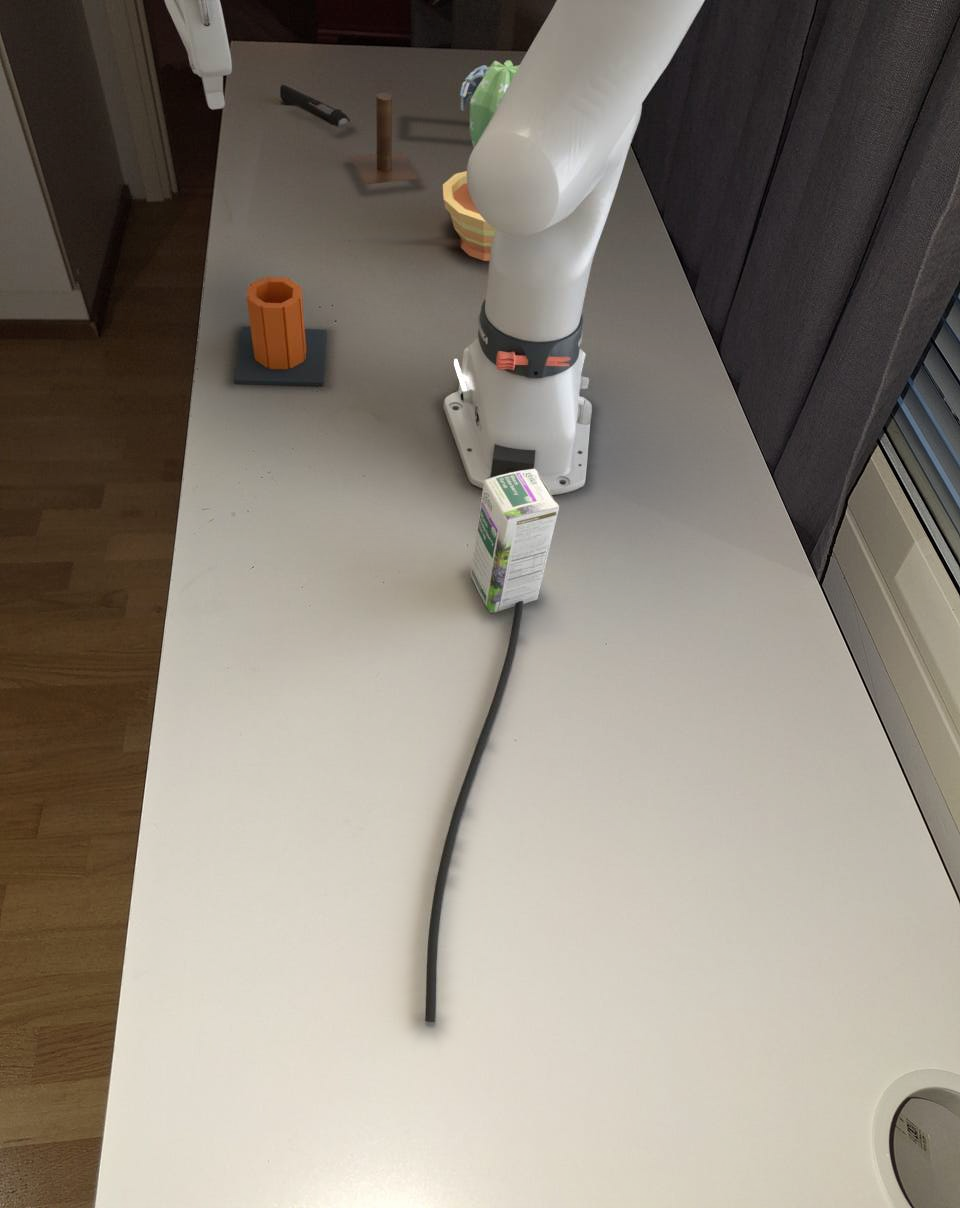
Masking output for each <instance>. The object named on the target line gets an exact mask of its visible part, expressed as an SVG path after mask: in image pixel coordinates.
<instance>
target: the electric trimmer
mask: <svg viewBox="0 0 960 1208" xmlns="http://www.w3.org/2000/svg"><path fill="white" fill-rule="evenodd" d="M279 87H280V89H279V95H280V99H281V100H282V101H283V102H284V103H286V104H287V105H288V106H291V107H292V106H293V107H299V108H300V109H302V110H304V111H307V112H308V113H311V114H313V115H315V116H317V117H319V118H321V119H323V120H325V121H326V122H328V123H329V124H330V125H332V126H335V127H339V126H341V125H344V124H346V123H350V122H351V120H350V118H349V117H348V115H346V114H345V113H344V112H343V111H342V110H341V109H339V108H334V107H332V106H330V105H328V104H326V103H324V102H322V101H320V100H317V99H315V98H313V97H311V96H309V95H306V94H304V93H302V92H301V91H298V90H297V89H294V88H292V87H290V86H288V85H286V84H281V85H280V86H279Z"/></svg>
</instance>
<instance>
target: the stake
mask: <svg viewBox="0 0 960 1208" xmlns="http://www.w3.org/2000/svg"><path fill="white" fill-rule="evenodd" d="M375 97H376V104H375V105H376V106H375V107H376V154H366V155H365V154H364V155H355V156H349V158H350V160H351V162H352V164H353V165H354V168H355V169H356V171H357V172H358V175H359V176H360V178H361V179H362V182H363V184H364V185H374V184H383V183H394V182H403V181H404V182H405V181H414V180H415V181H416V180H419V179H420V178H419V176H418V175H417V173H416V171H415V170H414V168H413V167H412V165H411V164H410V162H409V161H408V159H407V157H406V156H405V154H404V153H403V151H399V152H393V95H392V94H391V93H389V92H379V93H377V94H376V96H375Z"/></svg>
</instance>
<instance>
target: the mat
mask: <svg viewBox="0 0 960 1208" xmlns="http://www.w3.org/2000/svg"><path fill="white" fill-rule="evenodd" d="M327 336H328V330H327V329H318V328H317V329H316V328H305V339H306V358H305V360H304V362H302V363H300V364H298V365H297V366H295V367H293V368H291V369H290V368H289V367H288V369H270V367H269V368H266V367H265V366H263V365H262V364H261V363H259V362H258V361H256V360H255V357H254V350H253V342H252V335H251V327H250V326H242V327H241V333H240V338H239V344H238V350H237V351H238V352H237V357H236V358H237V359H236V363H235V368H234V369H235V371H234V376H233V383H234V384H235V385H236V384H238V385H274V386H278V385H279V386H308V387H324V381H325V366H326V354H327V353H326V351H327Z"/></svg>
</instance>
